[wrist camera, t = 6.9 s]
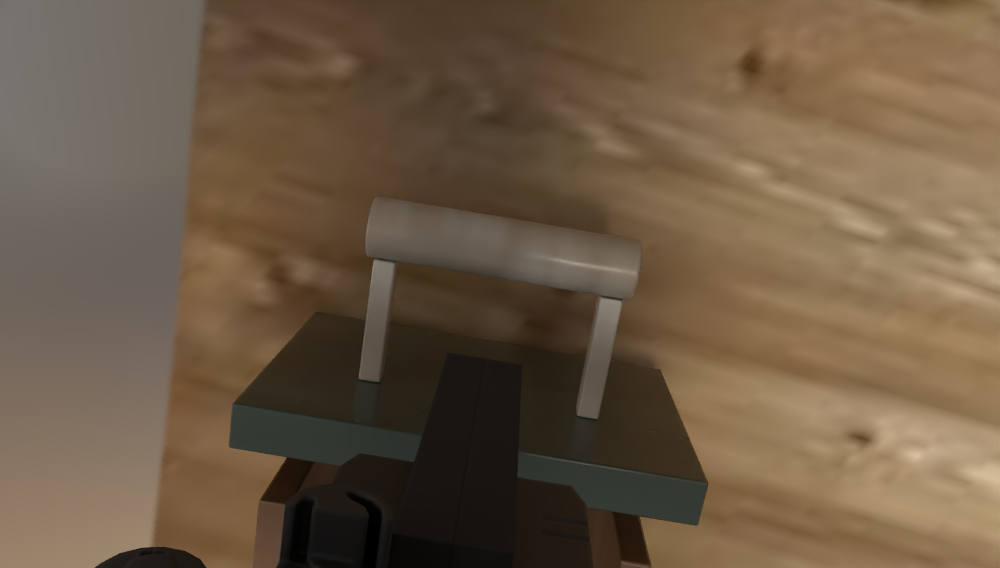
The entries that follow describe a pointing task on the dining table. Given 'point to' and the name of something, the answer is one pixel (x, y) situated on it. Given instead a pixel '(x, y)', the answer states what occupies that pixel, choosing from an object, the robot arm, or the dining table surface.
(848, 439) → the dining table surface
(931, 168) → the dining table surface
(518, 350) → the drawer
